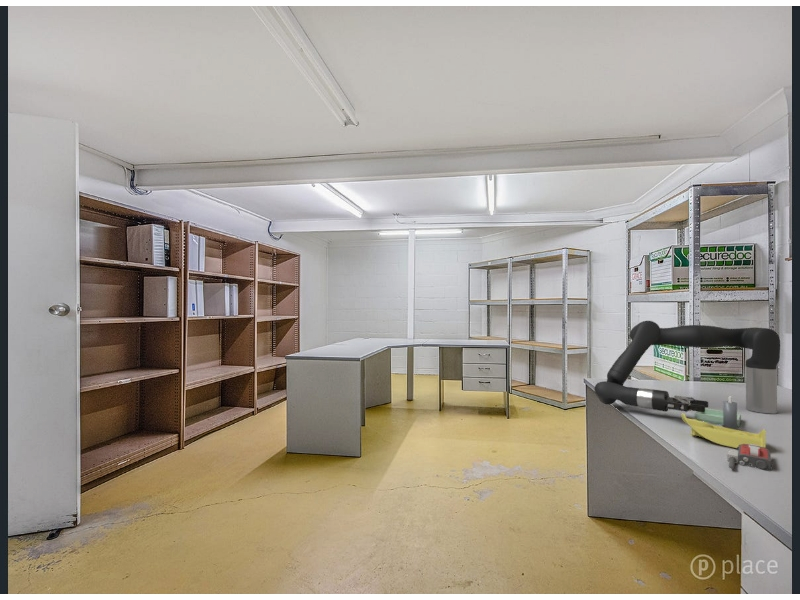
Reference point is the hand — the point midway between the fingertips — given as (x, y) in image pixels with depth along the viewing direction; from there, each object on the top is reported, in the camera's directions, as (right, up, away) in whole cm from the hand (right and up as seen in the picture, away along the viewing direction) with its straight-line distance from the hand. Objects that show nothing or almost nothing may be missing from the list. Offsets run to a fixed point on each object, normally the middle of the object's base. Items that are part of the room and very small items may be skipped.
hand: (706, 406), depth 137 cm
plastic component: (-8, -6, -17) cm, 20 cm away
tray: (+8, -7, +5) cm, 12 cm away
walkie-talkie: (-15, -6, -34) cm, 38 cm away
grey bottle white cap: (+4, -6, -5) cm, 9 cm away
